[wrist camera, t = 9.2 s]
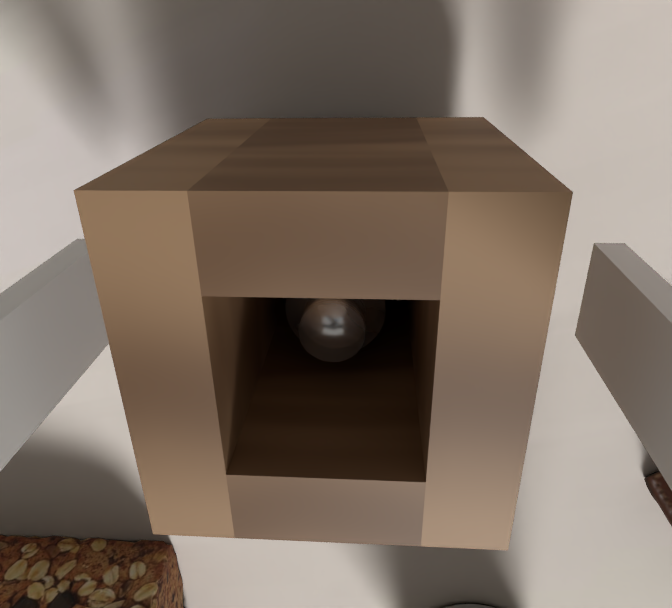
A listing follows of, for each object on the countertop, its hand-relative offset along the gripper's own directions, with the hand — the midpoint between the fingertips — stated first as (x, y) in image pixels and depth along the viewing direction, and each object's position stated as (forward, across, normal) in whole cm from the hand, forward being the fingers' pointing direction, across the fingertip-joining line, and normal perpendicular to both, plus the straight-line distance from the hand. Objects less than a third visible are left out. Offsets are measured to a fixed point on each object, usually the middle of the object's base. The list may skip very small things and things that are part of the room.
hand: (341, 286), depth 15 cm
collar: (+3, 0, 0) cm, 3 cm away
